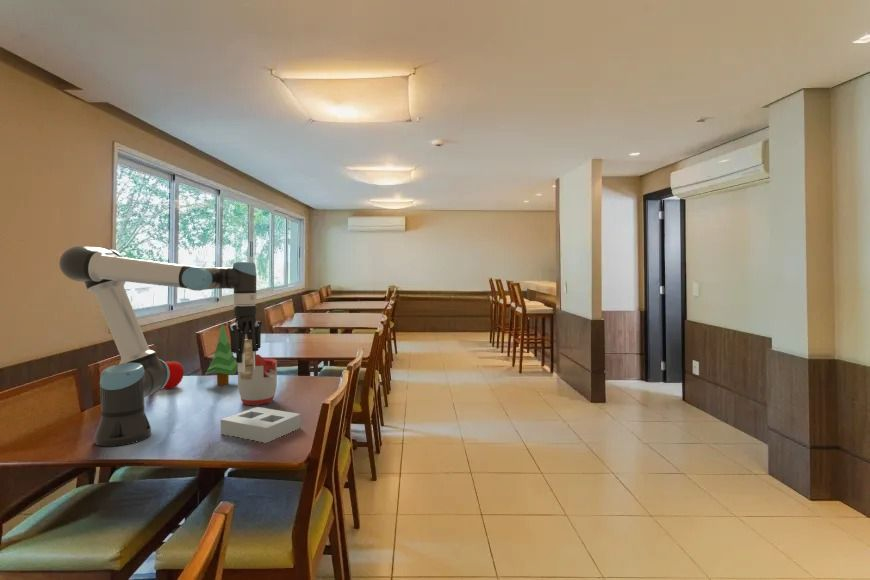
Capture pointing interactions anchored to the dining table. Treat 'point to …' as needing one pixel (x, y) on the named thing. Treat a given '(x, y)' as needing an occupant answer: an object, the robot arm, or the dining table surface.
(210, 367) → the decorative tree
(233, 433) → the board
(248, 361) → the peg
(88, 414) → the dining table surface
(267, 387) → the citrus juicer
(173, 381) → the red rounded piece
